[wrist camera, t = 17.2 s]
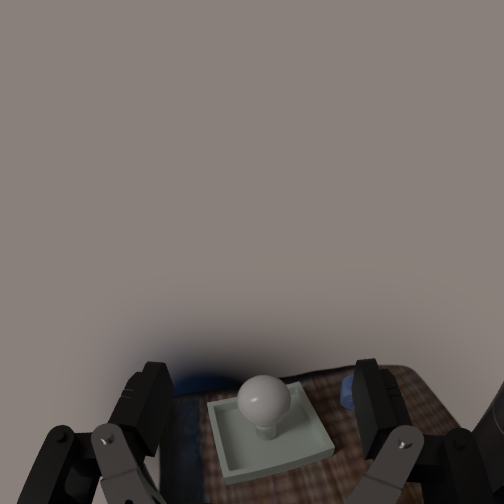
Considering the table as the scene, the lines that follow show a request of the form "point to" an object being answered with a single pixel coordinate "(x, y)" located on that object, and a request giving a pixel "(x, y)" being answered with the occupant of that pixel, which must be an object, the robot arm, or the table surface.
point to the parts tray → (272, 450)
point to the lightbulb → (264, 403)
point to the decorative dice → (347, 393)
